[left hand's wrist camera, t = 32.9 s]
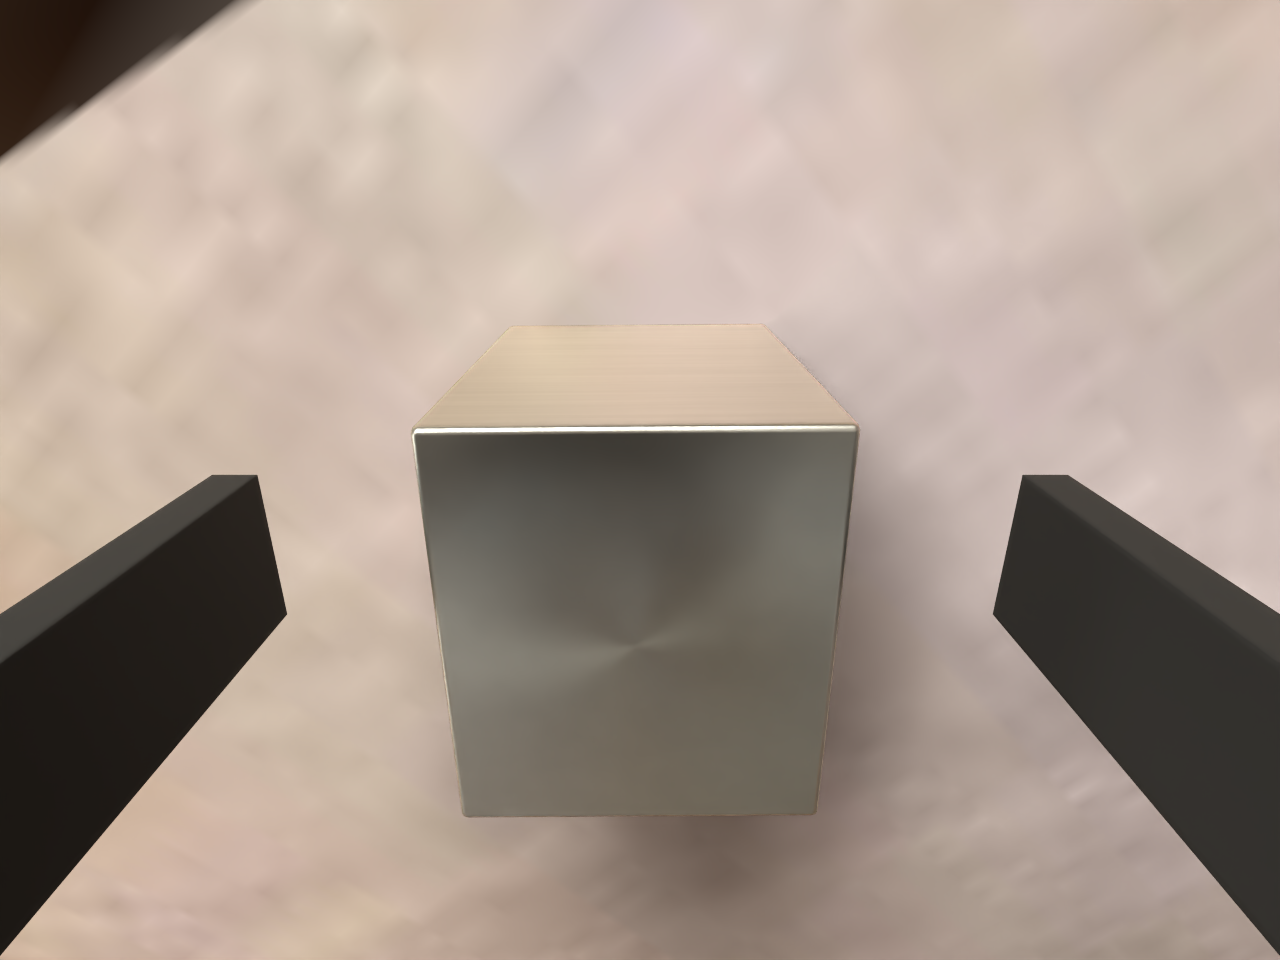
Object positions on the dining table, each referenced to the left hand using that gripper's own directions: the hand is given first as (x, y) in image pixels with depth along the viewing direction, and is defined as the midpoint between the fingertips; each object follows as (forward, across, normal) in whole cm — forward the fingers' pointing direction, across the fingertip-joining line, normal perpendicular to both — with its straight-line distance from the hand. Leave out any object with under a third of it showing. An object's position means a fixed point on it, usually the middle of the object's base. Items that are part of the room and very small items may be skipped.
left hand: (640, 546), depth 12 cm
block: (+4, 0, 0) cm, 4 cm away
